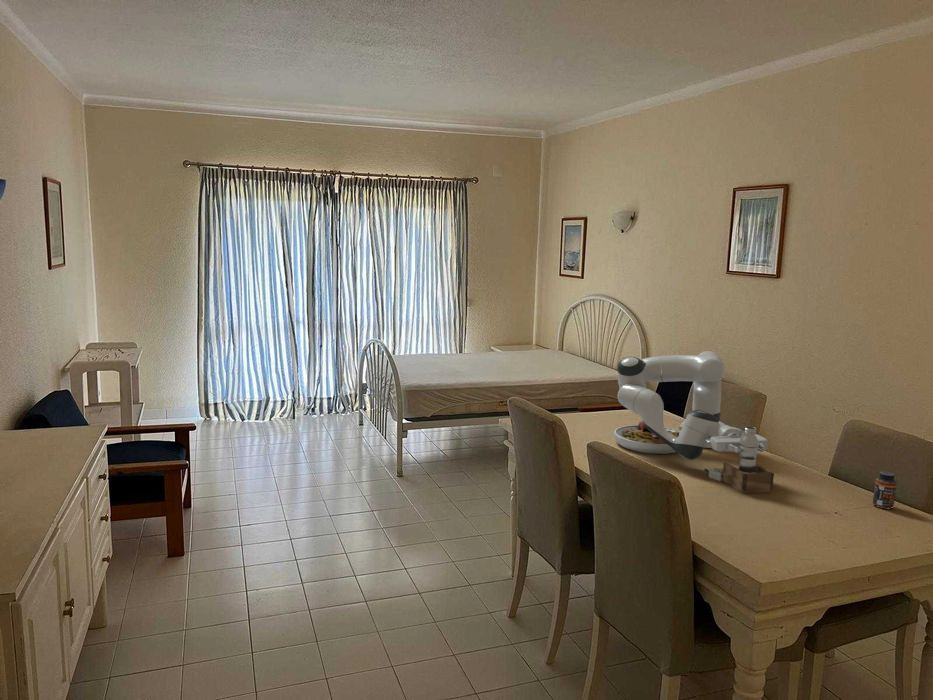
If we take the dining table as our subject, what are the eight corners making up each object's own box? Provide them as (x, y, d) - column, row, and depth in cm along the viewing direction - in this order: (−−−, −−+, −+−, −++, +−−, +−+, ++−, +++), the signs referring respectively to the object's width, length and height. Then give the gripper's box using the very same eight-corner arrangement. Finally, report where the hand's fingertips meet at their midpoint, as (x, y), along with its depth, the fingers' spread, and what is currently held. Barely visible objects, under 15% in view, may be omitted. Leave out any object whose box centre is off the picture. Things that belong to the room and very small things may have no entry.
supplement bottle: (882, 510, 225) (886, 476, 223) (868, 503, 231) (872, 470, 229) (898, 509, 226) (902, 475, 225) (883, 502, 232) (887, 470, 230)
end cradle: (722, 480, 250) (723, 462, 249) (749, 479, 252) (751, 461, 251) (743, 493, 238) (745, 474, 236) (772, 492, 240) (774, 473, 239)
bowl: (696, 457, 278) (698, 438, 277) (621, 455, 279) (622, 436, 277) (675, 436, 308) (676, 419, 307) (607, 435, 308) (608, 417, 307)
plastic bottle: (735, 484, 243) (739, 429, 240) (736, 478, 249) (741, 424, 246) (754, 487, 240) (759, 431, 237) (756, 482, 246) (761, 427, 243)
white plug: (701, 474, 256) (702, 467, 256) (707, 473, 258) (708, 465, 257) (726, 483, 247) (727, 475, 247) (732, 482, 249) (733, 474, 248)
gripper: (703, 431, 253) (724, 442, 239) (754, 429, 257) (777, 440, 244) (702, 448, 254) (723, 459, 240) (752, 446, 258) (776, 457, 244)
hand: (751, 449), depth 242 cm, fingers open, 8 cm apart
